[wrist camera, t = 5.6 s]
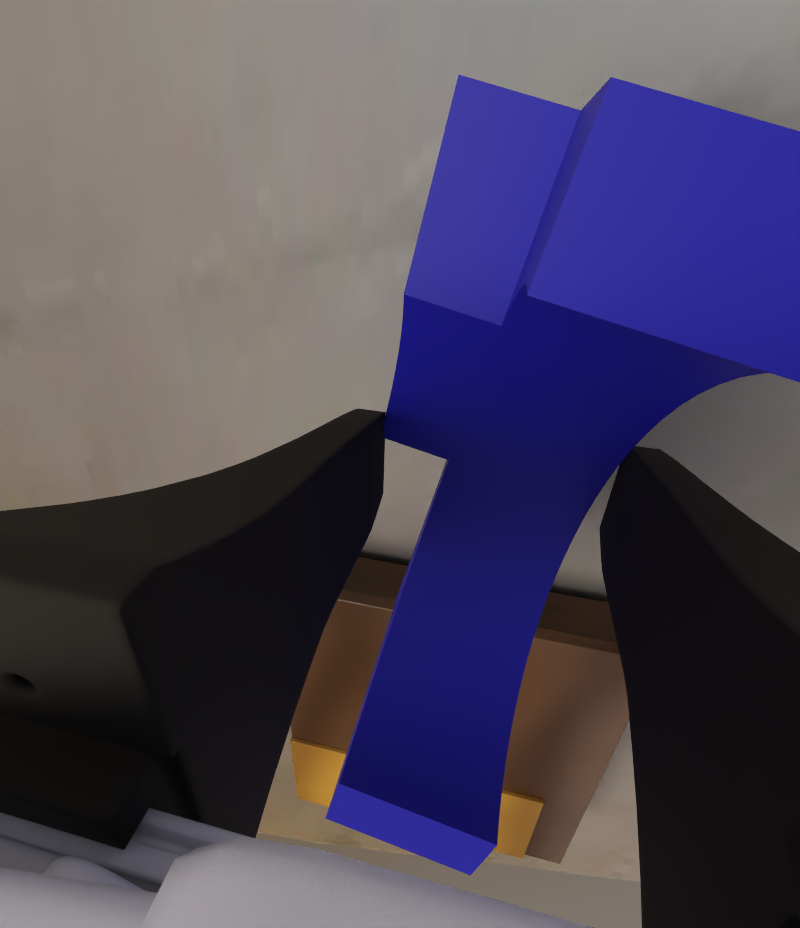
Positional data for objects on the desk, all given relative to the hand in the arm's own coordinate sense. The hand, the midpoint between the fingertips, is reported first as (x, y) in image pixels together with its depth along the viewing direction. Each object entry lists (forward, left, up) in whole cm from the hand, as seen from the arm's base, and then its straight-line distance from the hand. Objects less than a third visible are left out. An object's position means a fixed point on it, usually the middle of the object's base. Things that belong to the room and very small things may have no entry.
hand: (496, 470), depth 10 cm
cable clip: (0, 0, -2) cm, 2 cm away
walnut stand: (+1, +18, -8) cm, 20 cm away
